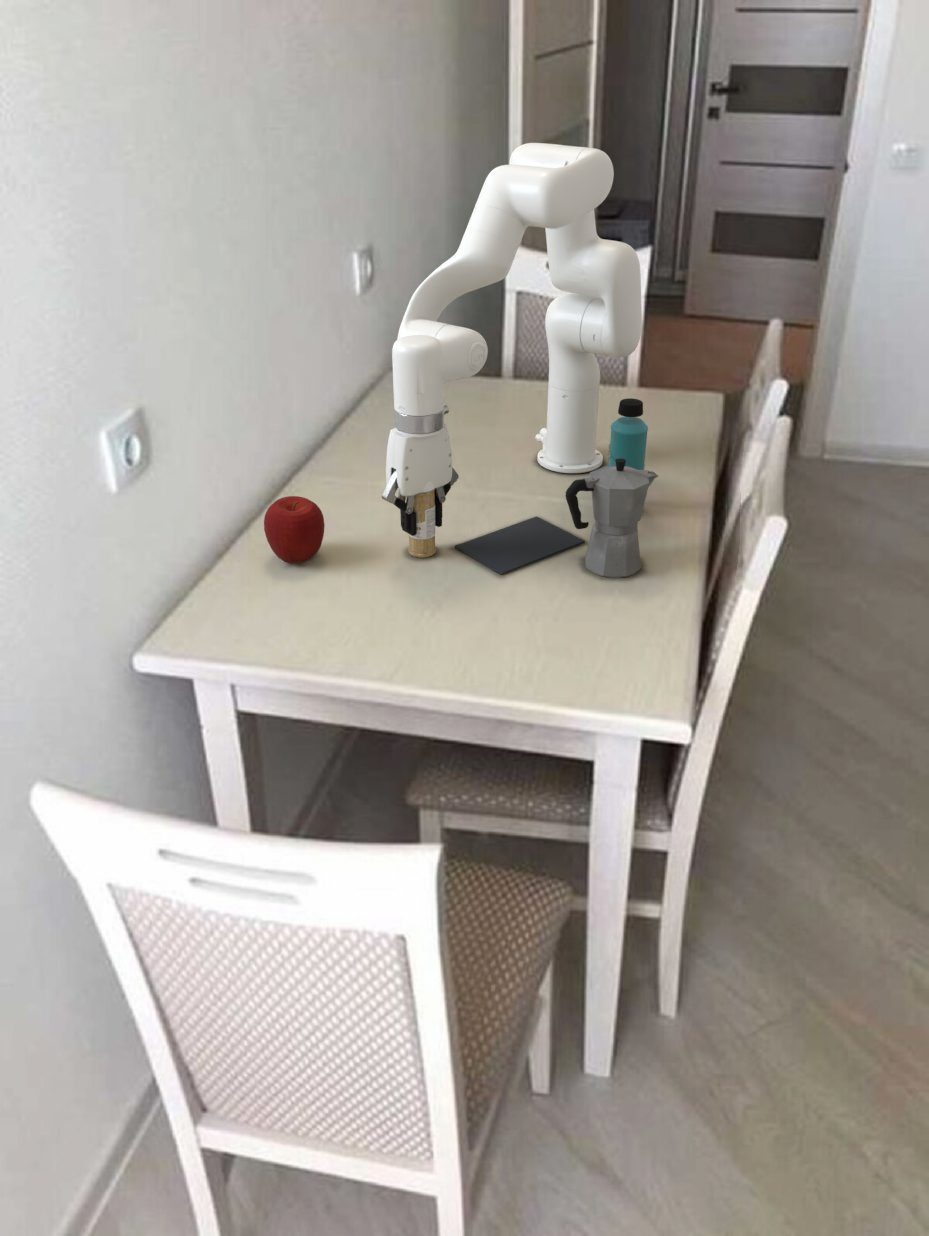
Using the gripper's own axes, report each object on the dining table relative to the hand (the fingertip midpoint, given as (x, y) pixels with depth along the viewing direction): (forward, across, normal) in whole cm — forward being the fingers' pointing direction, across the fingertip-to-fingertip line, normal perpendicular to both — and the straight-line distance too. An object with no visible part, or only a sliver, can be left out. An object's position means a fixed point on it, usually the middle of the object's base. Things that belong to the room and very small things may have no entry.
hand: (421, 527), depth 170 cm
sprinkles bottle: (+5, 0, 0) cm, 5 cm away
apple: (+5, +17, -11) cm, 21 cm away
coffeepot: (+5, -20, +22) cm, 30 cm away
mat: (+5, -14, +8) cm, 17 cm away
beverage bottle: (+5, -37, +9) cm, 38 cm away
